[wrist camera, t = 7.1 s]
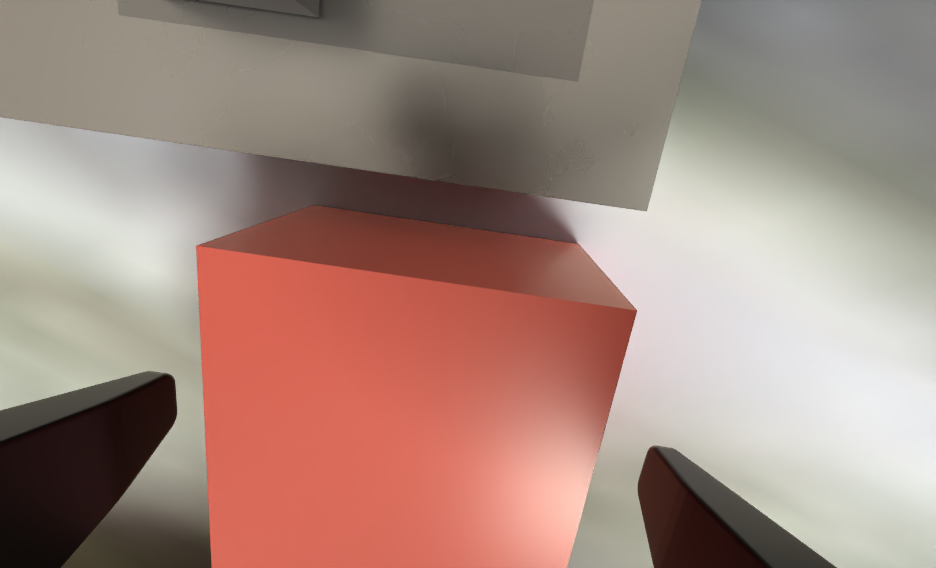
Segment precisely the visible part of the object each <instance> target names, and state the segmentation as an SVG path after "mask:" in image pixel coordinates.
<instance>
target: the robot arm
mask: <svg viewBox="0 0 936 568" xmlns="http://www.w3.org/2000/svg"><path fill="white" fill-rule="evenodd" d="M176 417H177V401H176V387H175V380H174V378H173V376H172V375H170V374H167V373H160V372H154V371H147V372H143V373H139V374H135V375H131V376H128V377H124V378H120V379H117V380H113V381H109V382H105V383H102V384H98V385H94V386H90V387H87V388H83V389H79V390H76V391H72V392H68V393H64V394H61V395H57V396H53V397H49V398H46V399H42V400H38V401H35V402H31V403H27V404H23V405H20V406H16V407H12V408H8V409H5V410H1V411H0V568H61V567H62V566H63V564H64V563H65V562H66V561H67V560H68V559H69V557H70V556H71V555H72V554H73V553H74V552H75V550H76V549H77V548H78V547H79V546H80V545H81V544H82V542H83V541H84V540H85V539H86V538H87V537H88V535H89V534H90V533H91V532H92V531H93V530H94V529H95V527H96V526H97V525H98V524H99V523H100V522H101V520H102V519H103V518H104V517H105V516H106V515H107V513H108V512H109V511H110V510H111V509H112V508H113V506H114V505H115V504H116V503H117V501H118V500H119V499H120V498H121V496H122V495H123V494H124V493H125V491H126V490H127V489H128V487H129V486H130V485H131V483H132V482H133V480H134V479H135V478H136V476H137V475H138V474H139V472H140V471H141V469H142V468H143V467H144V465H145V464H146V462H147V461H148V460H149V458H150V457H151V455H152V454H153V453H154V451H155V450H156V448H157V447H158V446H159V444H160V443H161V442H162V440H163V439H164V437H165V436H166V435H167V433H168V432H169V430H170V429H171V428H172V426H173V424H174V422H175V420H176ZM638 496H639V501H640V505H641V510H642V515H643V519H644V524H645V529H646V533H647V538H648V543H649V547H650V552H651V557H652V561H653V566H654V568H837V567H835V566H834V565H833V564H831V563H830V562H828V561H827V560H826V559H824V558H823V557H822V556H820V555H819V554H818V553H816V552H815V551H813V550H812V549H811V548H809V547H808V546H807V545H805V544H804V543H803V542H801V541H800V540H798V539H797V538H796V537H794V536H793V535H792V534H790V533H789V532H787V531H786V530H785V529H783V528H782V527H781V526H779V525H778V524H777V523H775V522H774V521H772V520H771V519H770V518H768V517H767V516H766V515H764V514H763V513H762V512H760V511H759V510H757V509H756V508H755V507H753V506H752V505H751V504H749V503H748V502H747V501H745V500H744V499H742V498H741V497H740V496H738V495H737V494H736V493H734V492H733V491H732V490H730V489H729V488H727V487H726V486H725V485H723V484H722V483H721V482H719V481H718V480H717V479H715V478H714V477H712V476H711V475H710V474H708V473H707V472H706V471H704V470H703V469H701V468H700V467H699V466H697V465H696V464H695V463H693V462H692V461H691V460H689V459H688V458H686V457H685V456H684V455H682V454H681V453H680V452H678V451H677V450H675V449H673V448H668V447H661V446H652V447H650V448H649V450H648V452H647V455H646V458H645V461H644V464H643V468H642V471H641V474H640V477H639V481H638Z"/></svg>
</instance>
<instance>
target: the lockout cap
mask: <svg viewBox="0 0 936 568" xmlns="http://www.w3.org/2000/svg"><path fill="white" fill-rule="evenodd" d="M196 250H197V271H198V292H199V313H200V334H201V355H202V376H203V396H204V417H205V438H206V459H207V480H208V501H209V522H210V543H211V563H212V568H567V566H568V563H569V559H570V555H571V552H572V548H573V544H574V541H575V537H576V533H577V530H578V526H579V522H580V518H581V515H582V511H583V507H584V504H585V500H586V496H587V493H588V489H589V485H590V482H591V478H592V474H593V471H594V467H595V463H596V460H597V456H598V452H599V449H600V445H601V441H602V438H603V434H604V430H605V427H606V423H607V419H608V416H609V412H610V408H611V405H612V401H613V397H614V393H615V390H616V386H617V382H618V379H619V375H620V371H621V368H622V364H623V360H624V357H625V353H626V349H627V346H628V342H629V338H630V335H631V331H632V327H633V324H634V320H635V316H636V313H637V310H636V309H635V308H634V306H633V305H632V304H631V303H630V302H629V301H628V300H627V298H626V297H625V296H624V295H623V294H622V293H621V292H620V290H619V289H618V288H617V287H616V286H615V285H614V284H613V282H612V281H611V280H610V279H609V278H608V277H607V276H606V275H605V273H604V272H603V271H602V270H601V269H600V268H599V267H598V265H597V264H596V263H595V262H594V261H593V260H592V259H591V257H590V256H589V255H588V254H587V253H586V252H585V251H584V249H583V248H582V247H581V246H580V245H579V244H576V243H569V242H562V241H556V240H549V239H542V238H535V237H528V236H521V235H515V234H508V233H501V232H494V231H487V230H480V229H474V228H467V227H460V226H453V225H446V224H439V223H433V222H426V221H419V220H412V219H405V218H398V217H392V216H385V215H378V214H371V213H364V212H357V211H351V210H344V209H337V208H330V207H323V206H316V205H312V206H309V207H306V208H303V209H300V210H297V211H295V212H292V213H289V214H286V215H283V216H280V217H277V218H275V219H272V220H269V221H266V222H263V223H260V224H257V225H254V226H252V227H249V228H246V229H243V230H240V231H237V232H234V233H232V234H229V235H226V236H223V237H220V238H217V239H214V240H211V241H209V242H206V243H203V244H200V245H197V246H196Z"/></svg>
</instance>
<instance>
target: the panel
mask: <svg viewBox="0 0 936 568" xmlns="http://www.w3.org/2000/svg"><path fill="white" fill-rule="evenodd" d="M701 1H702V0H319V17H312V16H306V15H299V14H292V13H285V12H278V11H271V10H264V9H257V8H250V7H243V6H236V5H229V4H223V3H216V2H209V1H202V0H0V117H4V118H11V119H17V120H24V121H31V122H38V123H45V124H52V125H58V126H65V127H72V128H79V129H86V130H93V131H100V132H106V133H113V134H120V135H127V136H134V137H141V138H147V139H154V140H161V141H168V142H175V143H182V144H189V145H195V146H202V147H209V148H216V149H223V150H230V151H237V152H243V153H250V154H257V155H264V156H271V157H278V158H284V159H291V160H298V161H305V162H312V163H319V164H326V165H332V166H339V167H346V168H353V169H360V170H367V171H374V172H380V173H387V174H394V175H401V176H408V177H415V178H421V179H428V180H435V181H442V182H449V183H456V184H463V185H469V186H476V187H483V188H490V189H497V190H504V191H511V192H517V193H524V194H531V195H538V196H545V197H552V198H558V199H565V200H572V201H579V202H586V203H593V204H600V205H606V206H613V207H620V208H627V209H634V210H641V211H647V208H648V204H649V201H650V197H651V193H652V189H653V185H654V181H655V177H656V174H657V170H658V166H659V162H660V158H661V154H662V151H663V147H664V143H665V139H666V135H667V131H668V127H669V124H670V120H671V116H672V112H673V108H674V104H675V101H676V97H677V93H678V89H679V85H680V81H681V78H682V74H683V70H684V66H685V62H686V58H687V54H688V51H689V47H690V43H691V39H692V35H693V31H694V28H695V24H696V20H697V16H698V12H699V8H700V4H701Z"/></svg>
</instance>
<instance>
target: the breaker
mask: <svg viewBox="0 0 936 568" xmlns="http://www.w3.org/2000/svg"><path fill="white" fill-rule="evenodd" d="M202 1H209V2H216V3H223V4H229V5H236V6H243V7H250V8H257V9H264V10H271V11H278V12H285V13H292V14H299V15H306V16H312V17H319V0H202Z"/></svg>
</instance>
